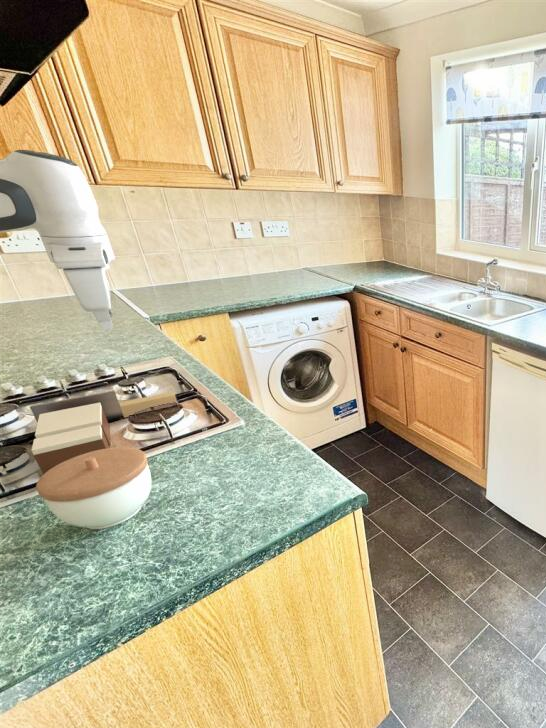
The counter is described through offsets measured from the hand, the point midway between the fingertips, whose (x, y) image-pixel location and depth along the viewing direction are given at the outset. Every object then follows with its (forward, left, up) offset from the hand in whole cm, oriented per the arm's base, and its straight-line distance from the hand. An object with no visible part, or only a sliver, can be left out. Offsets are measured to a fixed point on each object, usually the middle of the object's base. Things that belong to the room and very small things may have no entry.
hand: (107, 322), depth 83 cm
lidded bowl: (-6, -31, -24) cm, 40 cm away
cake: (-10, -1, -24) cm, 26 cm away
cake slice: (-10, -10, -24) cm, 28 cm away
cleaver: (-5, +7, -24) cm, 25 cm away
